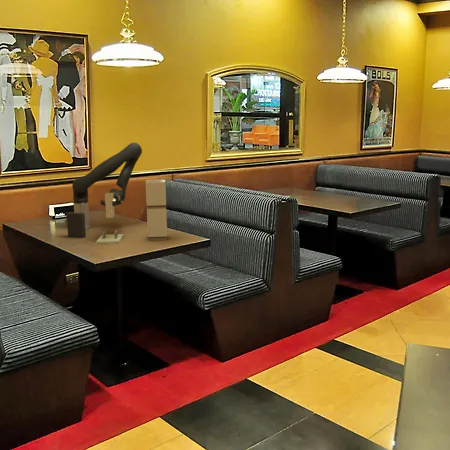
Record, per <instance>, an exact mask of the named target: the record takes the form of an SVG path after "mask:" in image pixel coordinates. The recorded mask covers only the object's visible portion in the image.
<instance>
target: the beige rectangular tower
mask: <svg viewBox="0 0 450 450" xmlns="http://www.w3.org/2000/svg"><path fill="white" fill-rule="evenodd" d="M166 187H167V185H166V180H165V179H146V180H145V198H146V199H145V201H146V219H147V220H146V221H147V224H146V225H147V226H146V227H147V233H146V235H147V241H167V240H168V227H167V225H168V222H167V191H166V189H167V188H166Z"/></svg>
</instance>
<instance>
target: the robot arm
mask: <svg viewBox="0 0 450 450" xmlns="http://www.w3.org/2000/svg"><path fill="white" fill-rule="evenodd" d="M142 153H143V148H142V147H141V145H140V144H139V143H137V142H131V143H129V144H127V146H125V147H124V148H123V149H122V150H121V151H119V152H118V153H116V154H114V155H112V156H110V157H108V158H107V159H105V160H103V161H102V162H101V163H99V164H98V165H97V166H96V167H94V168H93V169H92V170H91V171H90V172H88V173H87V174H85V175H83V176H81V177H76V178H75V179H74V180H73V182H72V185H71V186H72V191H73V198H72V199H73V212H77V213H84V214H85V230H87V229H90V228H91V227H90V226H91V225H90V211H89V190H88V189H89V188H90V187H91V186H92V185H94V184H95V183H97V182H99V181H101V180H103V179H104V178H107V177H108V176H110V175H112V174H113V173H115V172H116V171H117V170H118V169H119V168H121V166H122V165H123V164H124V165H123V167H122V168H121V171H120V172H119V175H118V178H117V181H116V183H115V184H116V185H117V186H118V187H120V188H121V190H120V189H116V188H111V189H110V191H109V193H113V196H114V201H113V202H112V206H114V207H117V206H119V205H122V204H123V203H124V201H125V200H126V193H127V186H128V185H129V184H128V183H129V181H130V180H131V179H130V178H131V176H132V173H133V171H134V168H135V166H136V164H137V162H138V160H139V158H140V157H141V155H142ZM99 200H100V205H101V206H104V207H106V205H105V200H104V199H99Z"/></svg>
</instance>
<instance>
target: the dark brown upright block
mask: <svg viewBox="0 0 450 450" xmlns="http://www.w3.org/2000/svg"><path fill="white" fill-rule="evenodd" d="M65 214H66V215H65V216H66V217H65V219H66V224H67V236H68V237H70V238H81V239H83V238H85V237H86V236H87V234H86V231H87V230H86V229H85V214H84V213H77V212H74V211H68V212H66V213H65Z"/></svg>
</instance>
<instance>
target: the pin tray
mask: <svg viewBox="0 0 450 450" xmlns="http://www.w3.org/2000/svg"><path fill="white" fill-rule="evenodd" d="M101 232H102V234H101V235H100V236H99V238H98V239H97V240H96V242H95V243H96V244H119V243H120V242H121V240H122V239H123V237H124V234H123V233H122V234H121V233H120V234H119V233H118V232H119V231H118V230H117V229H116V230H115V231H113V232H114V234H109V233H108V234H106V233H107V232H106V230H104V229H103V231H101Z"/></svg>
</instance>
